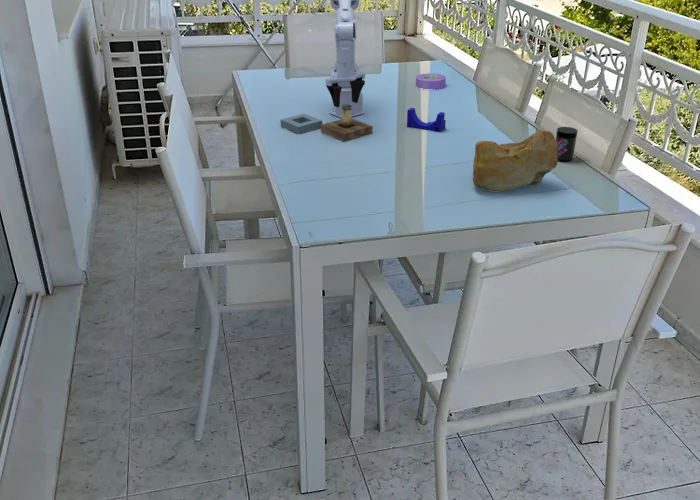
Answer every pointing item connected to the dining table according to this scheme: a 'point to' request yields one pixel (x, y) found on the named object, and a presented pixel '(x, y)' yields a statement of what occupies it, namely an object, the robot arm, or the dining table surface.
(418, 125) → the blue cradle block
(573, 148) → the supplement container
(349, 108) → the spice jar
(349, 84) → the robot arm
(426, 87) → the masking tape
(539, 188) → the dining table surface
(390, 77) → the dining table surface
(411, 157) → the dining table surface
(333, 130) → the socket block
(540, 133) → the rough brown rock
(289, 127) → the block
